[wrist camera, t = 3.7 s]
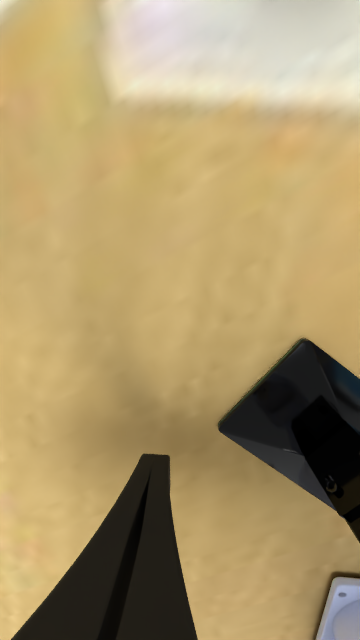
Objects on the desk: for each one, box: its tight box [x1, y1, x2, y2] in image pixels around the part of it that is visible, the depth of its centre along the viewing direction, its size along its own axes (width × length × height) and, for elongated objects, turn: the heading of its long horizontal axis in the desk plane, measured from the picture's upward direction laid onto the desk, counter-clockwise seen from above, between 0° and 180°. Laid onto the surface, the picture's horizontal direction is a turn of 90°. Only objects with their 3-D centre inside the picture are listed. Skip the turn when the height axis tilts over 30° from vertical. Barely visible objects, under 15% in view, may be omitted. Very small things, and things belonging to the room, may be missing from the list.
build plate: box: [218, 338, 360, 543], centre depth 9 cm, size 12×7×5 cm, turn 54°
